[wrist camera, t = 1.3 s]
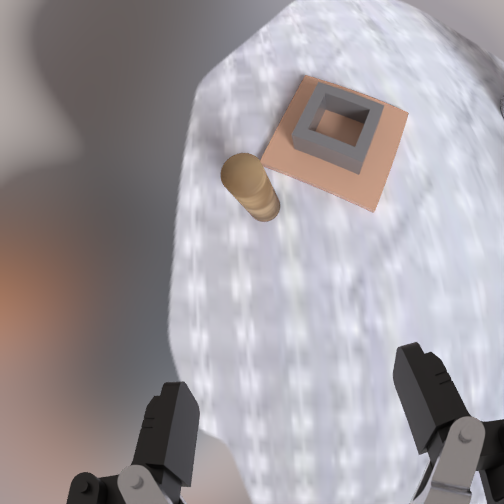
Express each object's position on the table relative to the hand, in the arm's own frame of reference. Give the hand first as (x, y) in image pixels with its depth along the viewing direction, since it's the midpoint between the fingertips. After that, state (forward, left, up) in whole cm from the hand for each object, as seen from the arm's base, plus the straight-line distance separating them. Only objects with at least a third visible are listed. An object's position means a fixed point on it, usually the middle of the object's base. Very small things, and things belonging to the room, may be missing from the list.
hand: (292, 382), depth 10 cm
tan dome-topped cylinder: (-10, -11, -26) cm, 31 cm away
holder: (-23, -6, -26) cm, 36 cm away
